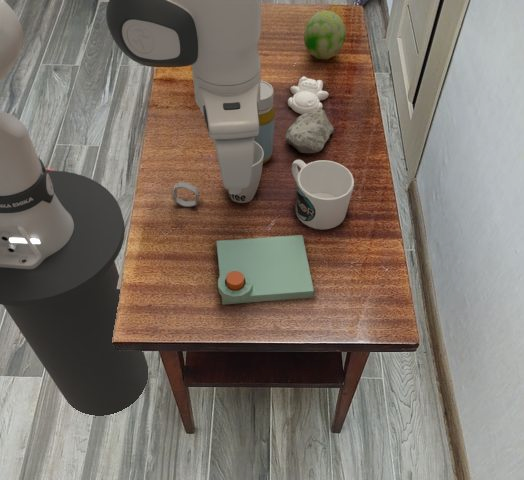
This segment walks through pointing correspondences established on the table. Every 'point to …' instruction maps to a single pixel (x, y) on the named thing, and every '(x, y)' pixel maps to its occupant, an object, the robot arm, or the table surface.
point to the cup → (250, 191)
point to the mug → (322, 193)
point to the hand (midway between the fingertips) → (230, 169)
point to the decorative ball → (324, 34)
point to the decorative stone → (310, 132)
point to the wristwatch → (189, 187)
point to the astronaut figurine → (307, 95)
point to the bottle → (266, 121)
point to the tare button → (235, 280)
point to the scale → (265, 269)
